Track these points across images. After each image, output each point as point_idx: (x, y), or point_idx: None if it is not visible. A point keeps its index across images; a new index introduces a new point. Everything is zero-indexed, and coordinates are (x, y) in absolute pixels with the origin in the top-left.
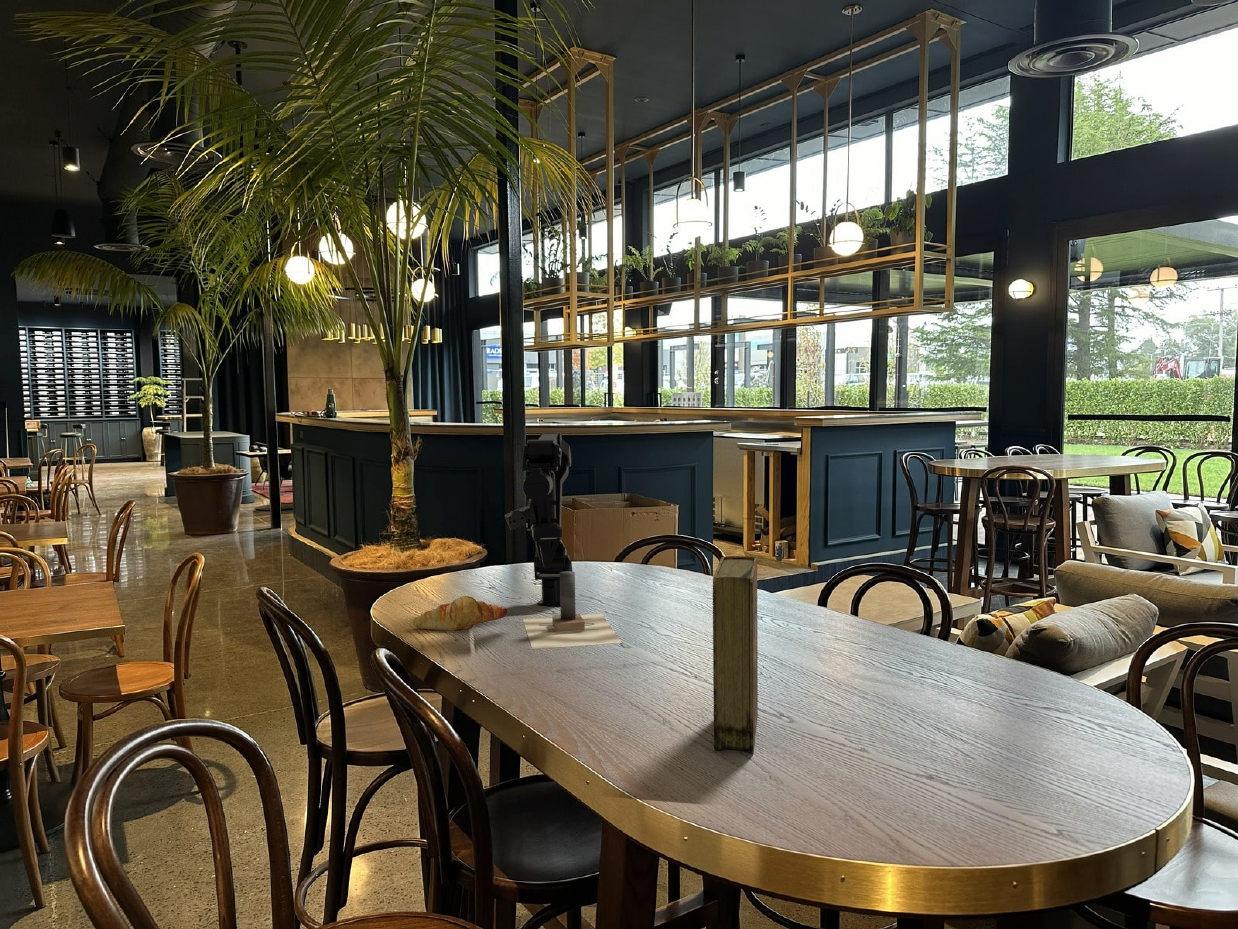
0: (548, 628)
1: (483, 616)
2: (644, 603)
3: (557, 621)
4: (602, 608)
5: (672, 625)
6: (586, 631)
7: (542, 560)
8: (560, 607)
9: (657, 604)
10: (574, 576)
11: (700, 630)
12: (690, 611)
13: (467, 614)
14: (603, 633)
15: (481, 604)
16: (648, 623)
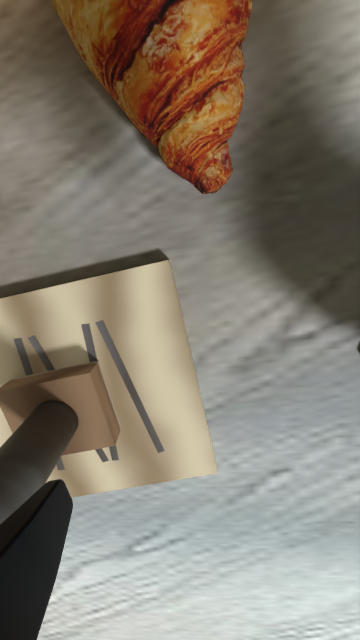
0: (56, 353)
1: (119, 102)
2: (351, 547)
3: (19, 394)
4: (319, 462)
5: (145, 586)
6: None
7: (13, 530)
8: (31, 423)
9: (334, 569)
10: None
11: (109, 621)
12: (258, 617)
13: (60, 12)
14: None
15: (145, 55)
16: (162, 550)
